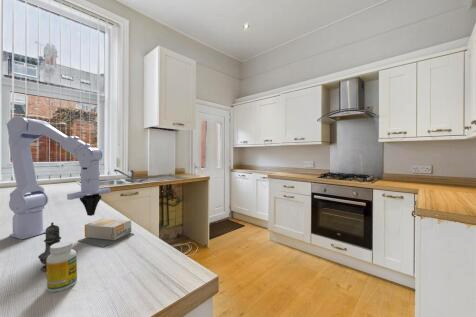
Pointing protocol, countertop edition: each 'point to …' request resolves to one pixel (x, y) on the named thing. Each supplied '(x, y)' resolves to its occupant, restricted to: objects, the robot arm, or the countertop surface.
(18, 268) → the countertop surface
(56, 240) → the stone chess piece
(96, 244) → the slate mat
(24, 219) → the robot arm
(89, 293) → the countertop surface
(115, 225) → the supplement box
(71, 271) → the supplement bottle
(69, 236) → the countertop surface
